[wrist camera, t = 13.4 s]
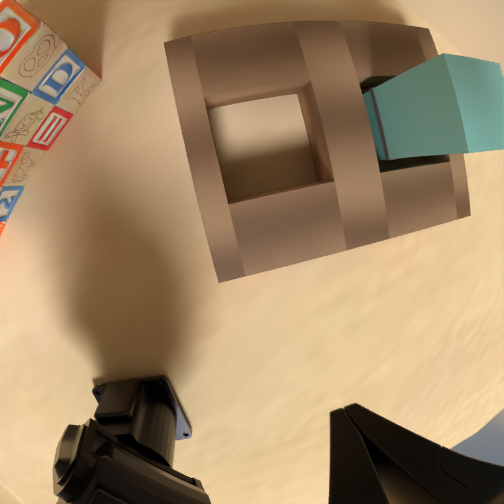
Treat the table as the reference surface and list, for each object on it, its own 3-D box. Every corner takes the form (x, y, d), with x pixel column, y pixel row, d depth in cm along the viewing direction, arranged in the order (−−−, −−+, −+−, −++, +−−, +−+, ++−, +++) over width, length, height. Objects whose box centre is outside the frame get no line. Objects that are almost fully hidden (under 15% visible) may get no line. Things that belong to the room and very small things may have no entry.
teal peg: (416, 155, 20) (519, 148, 11) (365, 162, 20) (468, 154, 10) (402, 96, 19) (499, 62, 9) (351, 99, 19) (441, 52, 9)
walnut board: (445, 211, 21) (470, 215, 18) (218, 268, 20) (218, 283, 17) (407, 41, 18) (428, 28, 15) (170, 61, 17) (163, 42, 14)
